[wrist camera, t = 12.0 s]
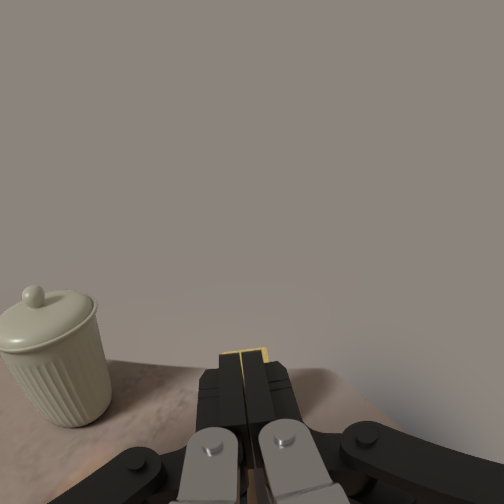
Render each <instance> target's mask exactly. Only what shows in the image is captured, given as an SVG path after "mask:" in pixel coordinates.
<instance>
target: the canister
mask: <svg viewBox="0 0 504 504" xmlns="http://www.w3.org/2000/svg"><path fill="white" fill-rule="evenodd" d="M22 299H23V301H21V302H19V303H17V304H15V305H14V306H12V307H10V308H9V309H8V310H6V311H5V312H4V313H3V314H2V315H1V316H0V354H1V356H2V358H3V360H4V362H5V363H6V365H7V366H8V368H9V370H10V371H11V373H12V374H13V376H14V378H15V379H16V381H17V382H18V384H19V385H20V387H21V388H22V390H23V391H24V393H25V394H26V395H27V397H28V398H29V400H30V401H31V402H32V404H33V405H34V406H35V407H36V409H37V410H38V411H39V412H40V413H41V415H42V416H43V417H44V418H45V419H47V420H48V421H50V422H51V423H53V424H55V425H57V426H60V427H65V428H66V427H68V428H72V427H75V428H76V427H79V426H80V427H81V426H83V425H87V424H88V423H92V421H94V420H96V419H97V418H98V417H100V416H101V415H102V414H103V413H104V412H105V410H106V409H107V408H108V406H109V404H110V401H111V397H112V387H111V380H110V376H109V372H108V368H107V363H106V359H105V355H104V351H103V347H102V343H101V338H100V334H99V329H98V324H97V320H96V315H95V314H96V311H97V301H96V300H95V298H93V297H92V296H90V295H88V294H84V293H81V292H78V291H72V290H60V291H52V292H47V293H44V291H43V289H42V288H41V287H40V286H38V285H31V286H29V287H27V288H26V289H25V290H24V291H23V293H22Z"/></svg>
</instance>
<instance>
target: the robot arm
mask: <svg viewBox="0 0 504 504" xmlns="http://www.w3.org/2000/svg"><path fill="white" fill-rule="evenodd" d="M241 357H242V367H243V373H242V367H241V360H240V354H239V352H238V353H229V354H221V355H219V368H218V369H207V370H205V372H204V373H203V375H202V376H201V378H200V379H199V391H198V405H197V419H196V432H195V434H194V435H192V437H191V438H190V439H189V441H188V444H187V446H185V447H184V448H182V449H180V450H177V451H174V452H170V453H167V454H163V455H158V454H157V453H156V452H155V451H154V450H152V449H150V448H146V447H133V448H129V449H127V450H125V451H123V452H121V453H120V454H119V455H117V456H116V457H115V458H113V459H112V460H111V461H109V462H108V463H106V464H105V465H104V466H102V467H101V468H99V469H98V470H97V471H95V472H94V473H92V474H91V475H89V476H88V477H87V478H85V479H84V480H82V481H81V482H79V483H78V484H76V485H75V486H73V487H72V488H70V489H69V490H67V491H66V492H64V493H63V494H61V495H60V496H58V497H57V498H55V499H54V500H52V501H51V502H49V503H47V504H249V476H248V470H249V469H255V467H254V459H253V451H252V444H253V450H254V456H255V461H256V467H257V468H263V472H264V478H265V484H266V490H267V494H268V497H269V501H270V504H504V464H500V463H496V462H493V461H489V460H485V459H481V458H478V457H474V456H471V455H468V454H464V453H461V452H457V451H455V450H451V449H448V448H445V447H442V446H439V445H436V444H433V443H430V442H427V441H424V440H422V439H419V438H416V437H414V436H411V435H408V434H405V433H403V432H400V431H398V430H395V429H392V428H390V427H387V426H385V425H382V424H380V423H377V422H373V421H361V422H357V423H354V424H352V425H350V426H349V427H347V428H346V429H345V430H344V432H343V433H342V434H340V433H321V432H317V431H314V430H312V429H310V428H309V427H308V426H306V425H305V424H304V422H303V421H302V418H301V415H300V412H299V409H298V405H297V402H296V399H295V396H294V392H293V389H292V386H291V383H290V380H289V376H288V373H287V370H286V368H285V367H284V366H283V365H282V364H280V363H279V362H278V361H274V362H267V363H264V361H263V356H262V351H261V350H253V351H246V352H241ZM243 376H244V380H243ZM244 385H245V386H244ZM250 433H251V435H250ZM251 439H252V443H251Z"/></svg>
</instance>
